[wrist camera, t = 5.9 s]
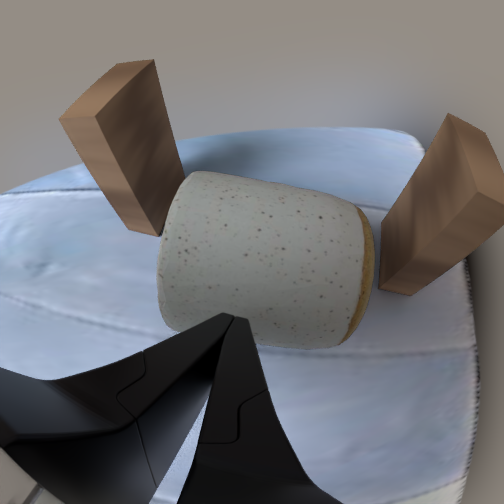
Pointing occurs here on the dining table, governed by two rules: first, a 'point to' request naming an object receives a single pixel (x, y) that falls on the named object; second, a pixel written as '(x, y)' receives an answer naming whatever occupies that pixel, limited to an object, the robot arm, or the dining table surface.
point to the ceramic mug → (265, 260)
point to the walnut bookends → (392, 227)
